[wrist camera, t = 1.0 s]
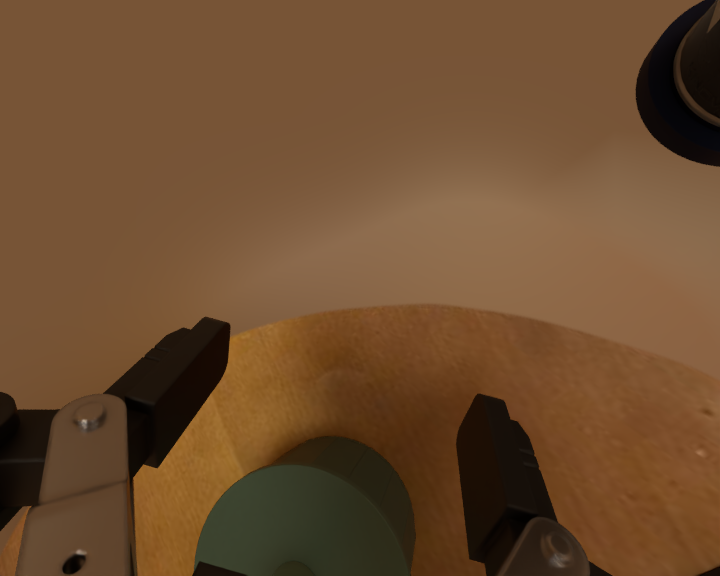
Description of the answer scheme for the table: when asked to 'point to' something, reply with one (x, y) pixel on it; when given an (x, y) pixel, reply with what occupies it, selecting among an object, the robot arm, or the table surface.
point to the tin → (363, 479)
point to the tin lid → (300, 527)
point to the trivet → (713, 573)
